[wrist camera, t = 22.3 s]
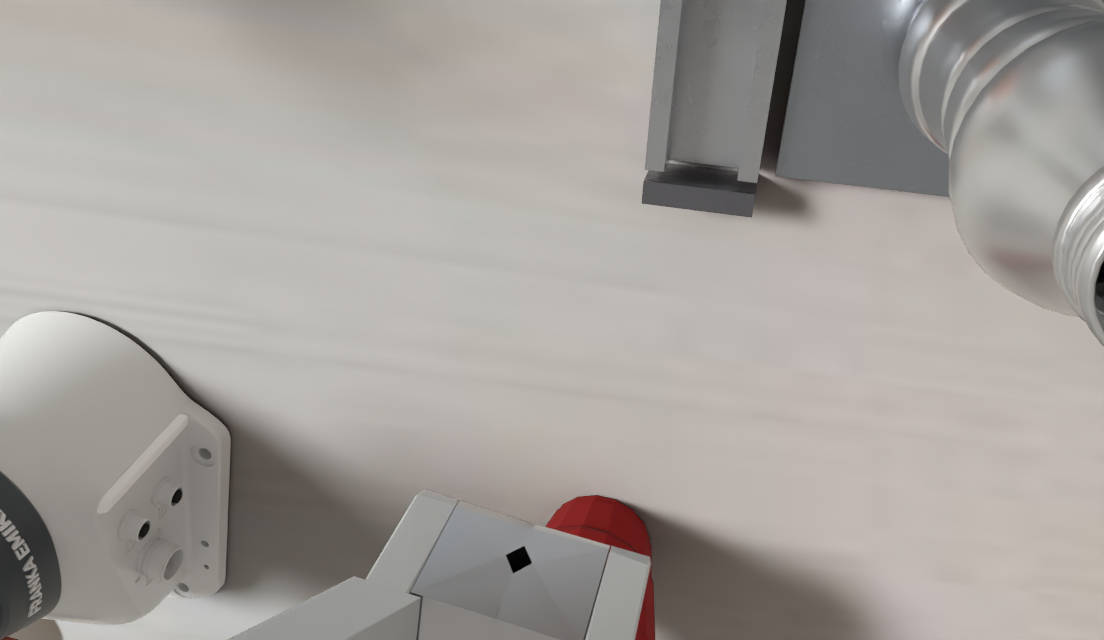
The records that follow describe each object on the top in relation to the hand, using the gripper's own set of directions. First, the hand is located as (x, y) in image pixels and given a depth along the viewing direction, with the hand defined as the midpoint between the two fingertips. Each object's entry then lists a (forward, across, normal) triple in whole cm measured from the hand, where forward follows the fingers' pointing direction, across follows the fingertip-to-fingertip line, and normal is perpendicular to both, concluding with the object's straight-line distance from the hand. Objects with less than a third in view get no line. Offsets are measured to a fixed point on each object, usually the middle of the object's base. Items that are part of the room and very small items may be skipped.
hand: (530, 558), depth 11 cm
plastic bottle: (+28, -9, -3) cm, 29 cm away
